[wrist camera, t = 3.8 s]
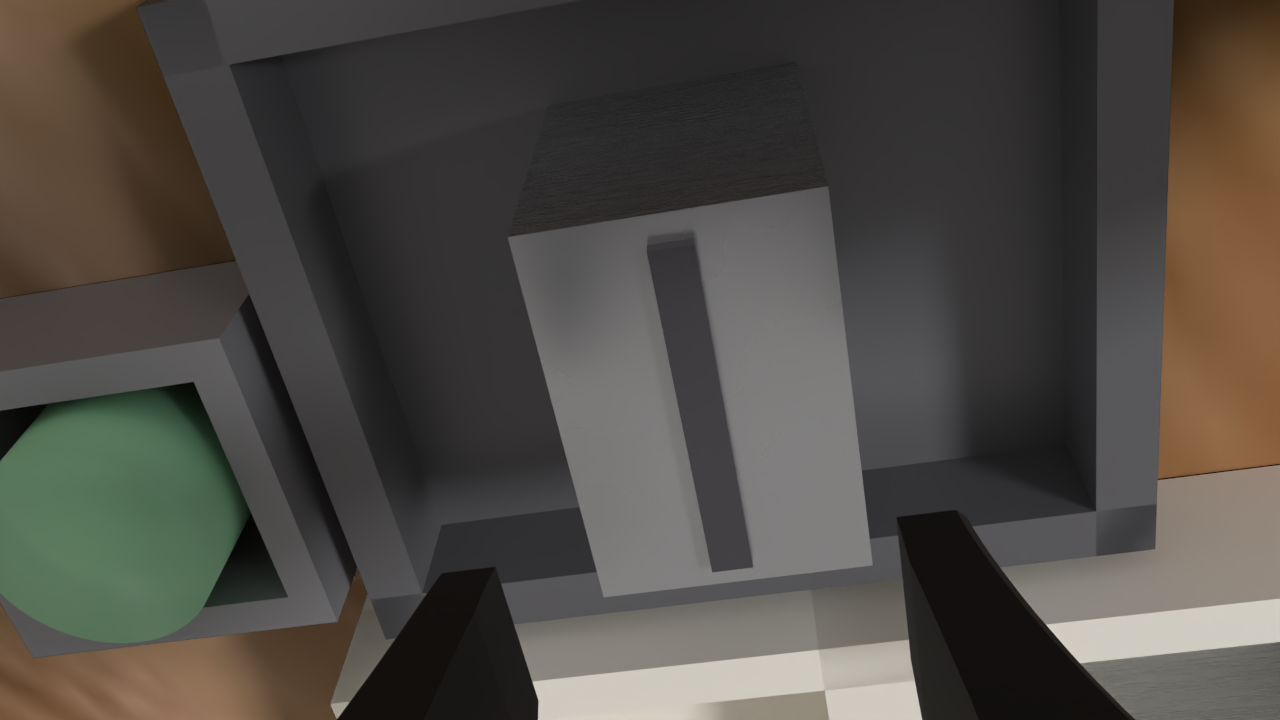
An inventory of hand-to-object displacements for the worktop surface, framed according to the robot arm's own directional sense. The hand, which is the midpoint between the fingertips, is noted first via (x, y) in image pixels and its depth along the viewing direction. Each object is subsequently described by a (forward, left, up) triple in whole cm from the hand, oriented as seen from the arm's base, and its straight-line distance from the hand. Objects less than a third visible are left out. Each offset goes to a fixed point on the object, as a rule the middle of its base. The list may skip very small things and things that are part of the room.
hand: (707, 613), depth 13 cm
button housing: (+11, +2, -9) cm, 14 cm away
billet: (0, 0, -9) cm, 9 cm away
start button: (+11, +2, -8) cm, 14 cm away
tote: (0, 0, -9) cm, 9 cm away
